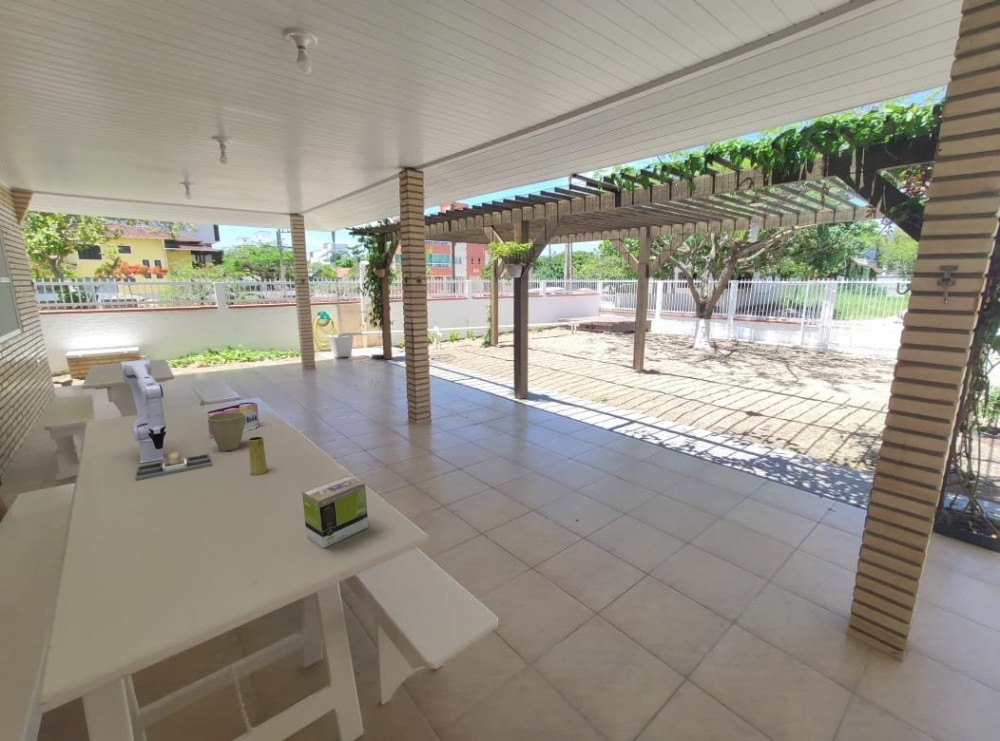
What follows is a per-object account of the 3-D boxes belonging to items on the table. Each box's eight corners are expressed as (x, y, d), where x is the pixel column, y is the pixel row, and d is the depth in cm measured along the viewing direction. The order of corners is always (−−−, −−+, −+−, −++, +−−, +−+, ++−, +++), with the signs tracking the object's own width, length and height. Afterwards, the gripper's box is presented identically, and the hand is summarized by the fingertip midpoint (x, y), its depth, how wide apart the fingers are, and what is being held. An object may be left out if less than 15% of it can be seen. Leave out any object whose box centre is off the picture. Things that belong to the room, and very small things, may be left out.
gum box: (217, 440, 217) (214, 413, 215) (206, 438, 220) (203, 412, 218) (259, 427, 239) (257, 403, 237) (249, 425, 242) (247, 402, 240)
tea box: (350, 518, 140) (348, 474, 138) (369, 528, 134) (366, 482, 131) (305, 537, 128) (301, 490, 126) (322, 549, 122) (319, 500, 120)
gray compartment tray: (137, 471, 177) (136, 465, 177) (210, 458, 192) (209, 452, 192) (135, 480, 169) (134, 474, 168) (212, 465, 184) (211, 460, 183)
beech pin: (168, 465, 181) (166, 451, 180) (181, 463, 183) (179, 449, 182) (168, 469, 177) (166, 454, 176) (181, 466, 180) (179, 452, 179)
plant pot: (235, 454, 197) (232, 420, 195) (203, 454, 198) (199, 420, 195) (254, 443, 212) (251, 411, 210) (224, 443, 212) (221, 411, 210)
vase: (259, 475, 174) (256, 441, 171) (246, 474, 175) (243, 440, 172) (270, 469, 179) (267, 436, 177) (257, 468, 181) (254, 435, 178)
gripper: (142, 411, 180) (147, 443, 182) (142, 419, 169) (146, 453, 171) (164, 409, 184) (168, 440, 187) (164, 416, 173) (169, 449, 175)
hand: (159, 446), depth 179 cm, fingers open, 7 cm apart
